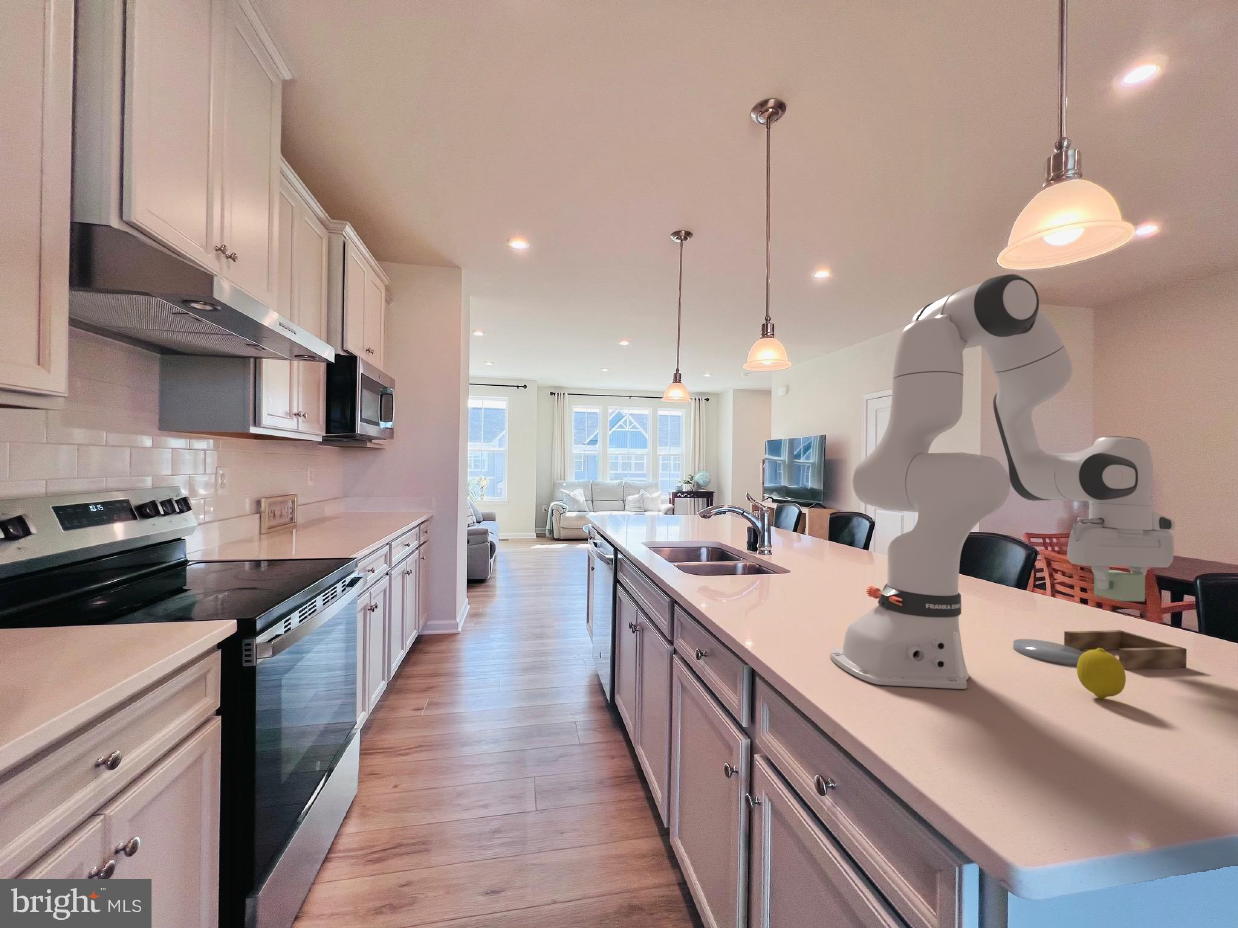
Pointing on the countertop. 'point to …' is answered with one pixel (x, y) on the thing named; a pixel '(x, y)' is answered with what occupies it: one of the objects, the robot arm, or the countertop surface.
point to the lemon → (1101, 673)
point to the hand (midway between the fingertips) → (1118, 588)
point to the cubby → (1129, 648)
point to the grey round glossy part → (1047, 651)
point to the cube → (1123, 586)
